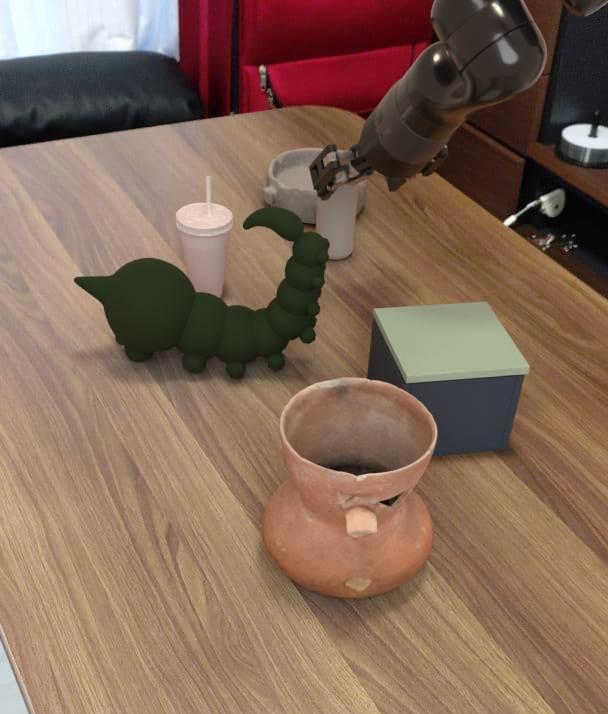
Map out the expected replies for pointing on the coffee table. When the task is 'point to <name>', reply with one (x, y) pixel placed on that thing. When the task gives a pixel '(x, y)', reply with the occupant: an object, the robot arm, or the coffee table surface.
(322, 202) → the beverage can
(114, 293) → the toy figurine
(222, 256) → the smoothie
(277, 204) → the dish
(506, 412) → the box
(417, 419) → the ceramic jug
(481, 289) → the coffee table surface
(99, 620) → the coffee table surface
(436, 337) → the lid
